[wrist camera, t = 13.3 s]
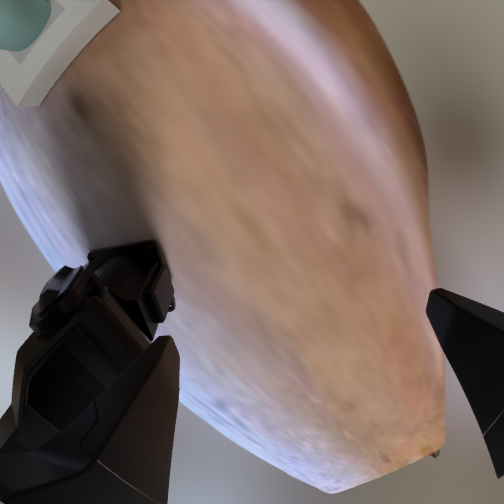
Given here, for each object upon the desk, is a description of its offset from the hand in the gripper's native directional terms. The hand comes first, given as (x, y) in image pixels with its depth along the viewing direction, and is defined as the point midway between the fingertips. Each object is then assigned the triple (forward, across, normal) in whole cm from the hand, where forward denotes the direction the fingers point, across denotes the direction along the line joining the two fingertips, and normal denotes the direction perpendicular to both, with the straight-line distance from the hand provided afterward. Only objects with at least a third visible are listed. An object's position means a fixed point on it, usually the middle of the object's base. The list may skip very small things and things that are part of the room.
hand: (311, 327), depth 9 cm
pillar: (+10, +16, -19) cm, 27 cm away
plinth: (+13, +16, -20) cm, 28 cm away
